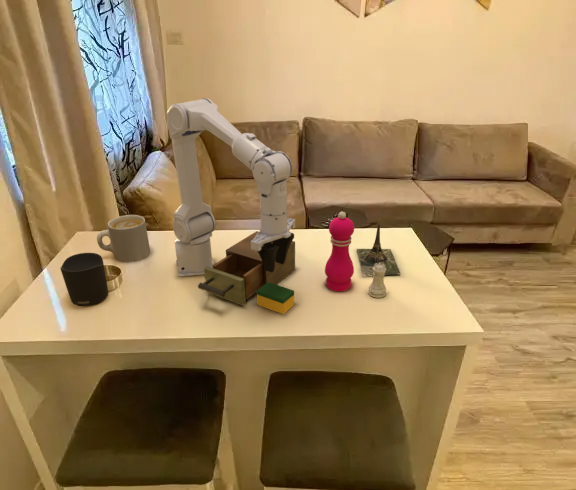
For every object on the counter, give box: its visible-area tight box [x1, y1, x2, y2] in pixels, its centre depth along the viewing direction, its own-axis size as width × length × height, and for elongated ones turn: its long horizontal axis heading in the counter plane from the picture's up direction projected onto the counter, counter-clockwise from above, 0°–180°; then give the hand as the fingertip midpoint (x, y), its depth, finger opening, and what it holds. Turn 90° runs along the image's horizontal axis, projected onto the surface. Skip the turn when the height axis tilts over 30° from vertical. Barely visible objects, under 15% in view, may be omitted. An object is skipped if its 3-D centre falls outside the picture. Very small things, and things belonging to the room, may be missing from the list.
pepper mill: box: [324, 211, 355, 292], centre depth 117 cm, size 7×7×20 cm
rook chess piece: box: [367, 263, 387, 299], centre depth 117 cm, size 4×4×8 cm
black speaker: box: [59, 252, 109, 308], centre depth 115 cm, size 9×9×10 cm
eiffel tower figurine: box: [356, 217, 401, 278], centre depth 129 cm, size 15×10×13 cm
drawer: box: [197, 254, 264, 306], centre depth 117 cm, size 17×11×7 cm, turn 147°
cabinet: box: [225, 230, 296, 285], centre depth 125 cm, size 13×12×8 cm
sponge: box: [256, 282, 295, 315], centre depth 114 cm, size 5×8×4 cm, turn 57°
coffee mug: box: [96, 214, 151, 263], centre depth 135 cm, size 13×10×10 cm
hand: (274, 266), depth 110 cm, fingers open, 4 cm apart
